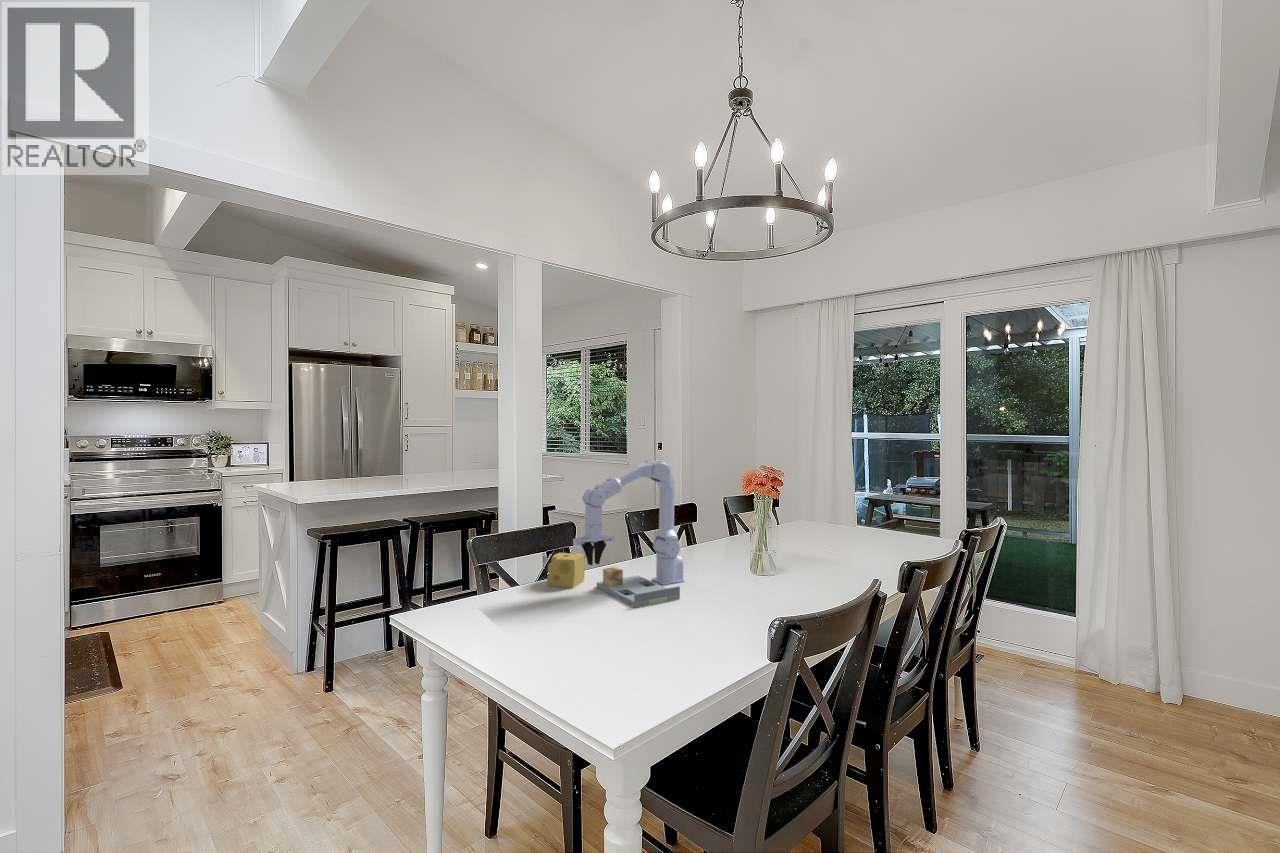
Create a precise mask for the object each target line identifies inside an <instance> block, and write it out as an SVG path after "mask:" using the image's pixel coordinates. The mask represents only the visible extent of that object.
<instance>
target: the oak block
mask: <svg viewBox="0 0 1280 853" xmlns="http://www.w3.org/2000/svg"><path fill="white" fill-rule="evenodd" d="M602 573H603V574H602V581H603V583H604V584H606V585H608V586H610V587H611V586H617V585H623V578H624V577H623V576H624V570H623V569H621V568H619V567H618V566H613V567H606V568H603V569H602Z"/></svg>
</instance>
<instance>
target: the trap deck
mask: <svg viewBox="0 0 1280 853" xmlns="http://www.w3.org/2000/svg"><path fill="white" fill-rule="evenodd" d="M596 588H598V589H600V590H601V591H604V592H605V593H607V594H609V595H611V596H613V597H615V598H616V597H617V598H616V599H618V598H619V600H620V601H622V602H624V603H626V604H627V605H629V606H631V605H632V607H633V606H634V608H635V607H636V608H639V607H640V606H641V607H645V605H646V606H650V605H654V604H655V603H656V604H660V602H661V603H666V602H669V601H670V602H671V601H676V600H675V599H677V600H680V599H679V598H681V595H680V594H681V593H680V592H681V587H680V586H673V587H668V588H667V587H665V586H663V585H662V584H658V583H657V582H655V581H652V580H649V579H646V578H644V577H643V576H640V575H634V576H633V575H632V576H627V577H623V585H617V586H611V587H610V586H608V585H606V584H604V583H603V580H602V581H597V582H596ZM665 601H666V602H665Z"/></svg>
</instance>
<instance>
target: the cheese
mask: <svg viewBox="0 0 1280 853" xmlns="http://www.w3.org/2000/svg"><path fill="white" fill-rule="evenodd" d="M585 562H586V561H585V553H584V554H583V553H568V552H558V553H556V554H554V555H552V557H551V562H550V563H549V564H548V565H547V572H548V575H547V577H546V584H547V586H548V587H557V586H559V587H560V588H566V587H569V588H568V589H574V588H576V587H577V586H578V585H580V584H581V583H582V582H584V581H585V575H586V574H585V573H586V571H585V570H586V569H585ZM583 580H584V581H583ZM579 583H580V584H579ZM575 586H576V587H575Z"/></svg>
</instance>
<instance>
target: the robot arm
mask: <svg viewBox="0 0 1280 853" xmlns="http://www.w3.org/2000/svg"><path fill="white" fill-rule="evenodd" d="M671 469H672V468H671V466H669V465H668V464H667V463H666V462H664V461H657V460H652V459H648V460H645V461H644V462H640V463H639V464H638V465H636V466H635V467H633V468H632V469H631V470H629V471H627V472H625V473H624V474H622V475H620V476H619V477H618V478H616V477H614V476H613V477H607V478H606V480H605V481H604V482H602V483H600V484H596V485H594V488H593V487H590V488H587V489H586V490H585V491H584V493H583V496H582V497H581V498H582V501H583V503H584V505H585V510H584V512H585V514H584V518H585V519H584V521H585V522H584V523H585V525H584V526H585V528H584V533H585V534H584V536H581V537H575V538H572V539H573V540H572V544H573V546H580V545H581V548H582V550H583V552H584V555H585V557H586V560H587V565H588V566H593V564H594V563H595V564H596V565H600V562H601V559H602V555H603V553H604V550H605V548H606V547H607V543H606V542H614V541H615V540H614V538H615V536H614V534H603V506H604V504H605V502H606V501H607V500H608V499H610V498H612V497H614V496H616V495H618V494H619V493H621V491H622V489H623V487H624V486H626V485H628V484H630V483H633V482H635V481H636V480H639V479H641V478H648V479H650V480H652V481H653V482H654V483H655V484H656V485H658V487H659V498H658V499H659V504H658V506H659V507H658V508H659V509H658V510H659V514H658V530H657V531H656V533H655V537H654V539H653V542H652V543H653V544H652V548H653V550H654V551H655V553H656V554H655V556H656V560H655V561H656V562H655V563H656V566H655V567H656V568H655V569H656V575H655V576H656V577H652V578H651V581H653V582H655V583H657V584H658V583H659V585H662V586H663V585H670V584H676V583H682V582H685V578H684V560H683V558H682V556H680V555H679V554H680V551H681V545H680V542H679V536H678V535H677V533H676V531H675V493H676V492H675V491H676V489H675V488H676V486H675V484H676V482H675V481H676V480H675V479H674V476H673V474H672V471H671ZM593 554H594V556H593ZM593 557H594V558H593ZM593 561H594V562H593Z"/></svg>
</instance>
